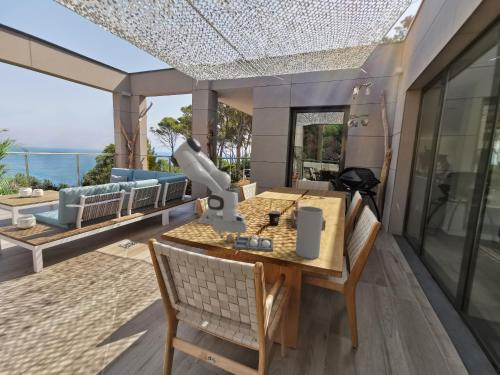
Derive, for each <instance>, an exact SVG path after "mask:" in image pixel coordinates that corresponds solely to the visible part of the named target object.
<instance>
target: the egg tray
mask: <svg viewBox="0 0 500 375" xmlns="http://www.w3.org/2000/svg"><path fill="white" fill-rule="evenodd" d="M264 240H268V241H269V242H270V246H269V248H264V247H263V246H262V242H263V241H264ZM250 241H251V237H249V236H248V237H247V236H239V239H238V240H237V239H236V238H235V240H234V244H233V245H232V249H233V250H246V251H260V252H274V238H264V237H258V241H257V242H258V245H257V246H256V247H251V246H250Z"/></svg>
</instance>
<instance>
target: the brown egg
mask: <svg viewBox="0 0 500 375" xmlns="http://www.w3.org/2000/svg"><path fill="white" fill-rule="evenodd" d="M225 240H226V241H227V242H228V243H232V242H233V241H235V236H234V235H233V234H231V233H229V234H227V236H226V239H225Z"/></svg>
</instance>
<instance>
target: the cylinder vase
mask: <svg viewBox="0 0 500 375" xmlns="http://www.w3.org/2000/svg"><path fill="white" fill-rule="evenodd" d="M297 211H298V223H297V228H296V239H295V254H296V255H298V256H299V257H302V258H304V259H310V260H313V259H317V258H319V256H320V250H321V238H322V230H321V229H322V218H324V217H323V215H324V210H323V209H322V208H320V207H316V206H310V205H309V206H307V205H306V206H303V205H302V206H299V207H298V209H297Z"/></svg>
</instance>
